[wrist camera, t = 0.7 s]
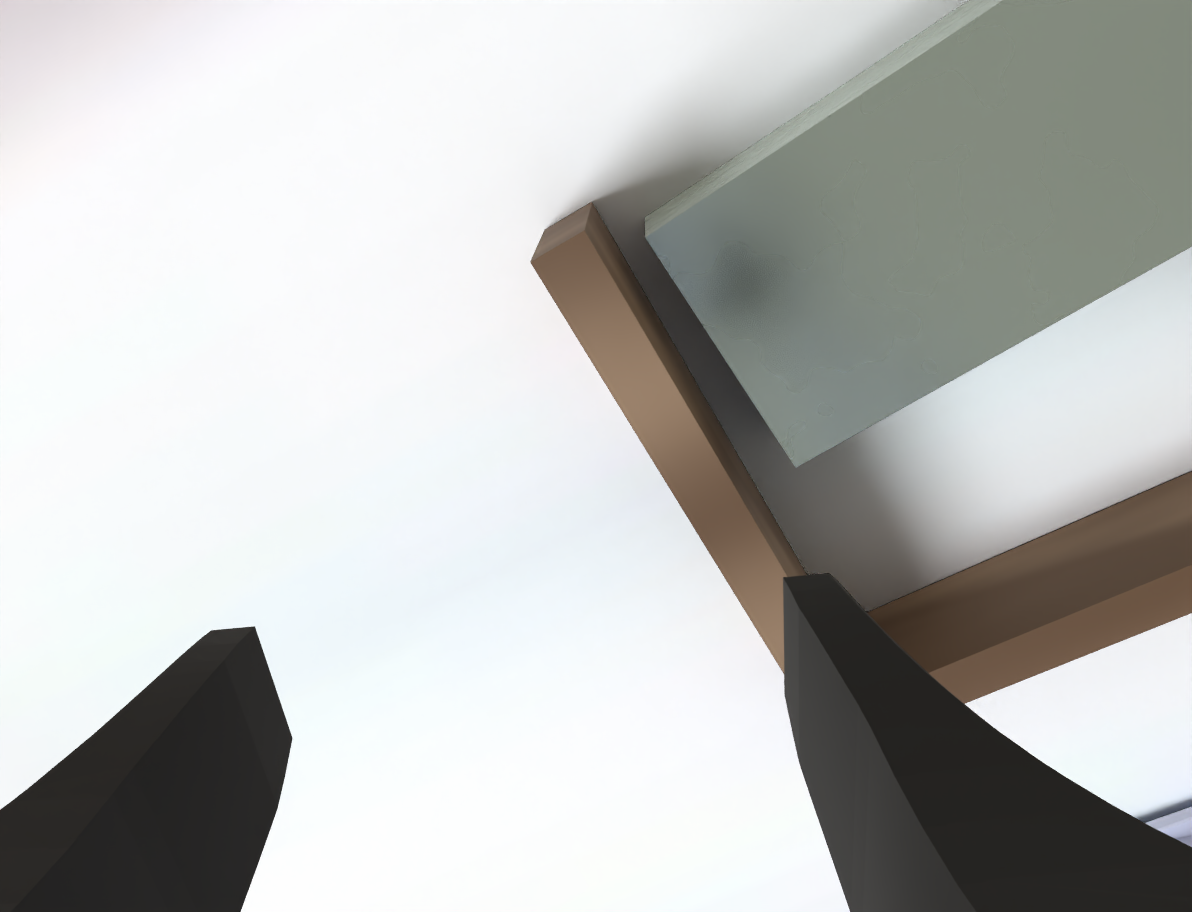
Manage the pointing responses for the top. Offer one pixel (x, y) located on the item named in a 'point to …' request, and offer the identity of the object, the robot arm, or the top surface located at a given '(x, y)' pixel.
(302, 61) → the top surface
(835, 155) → the cover plate
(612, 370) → the walnut box
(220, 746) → the robot arm
